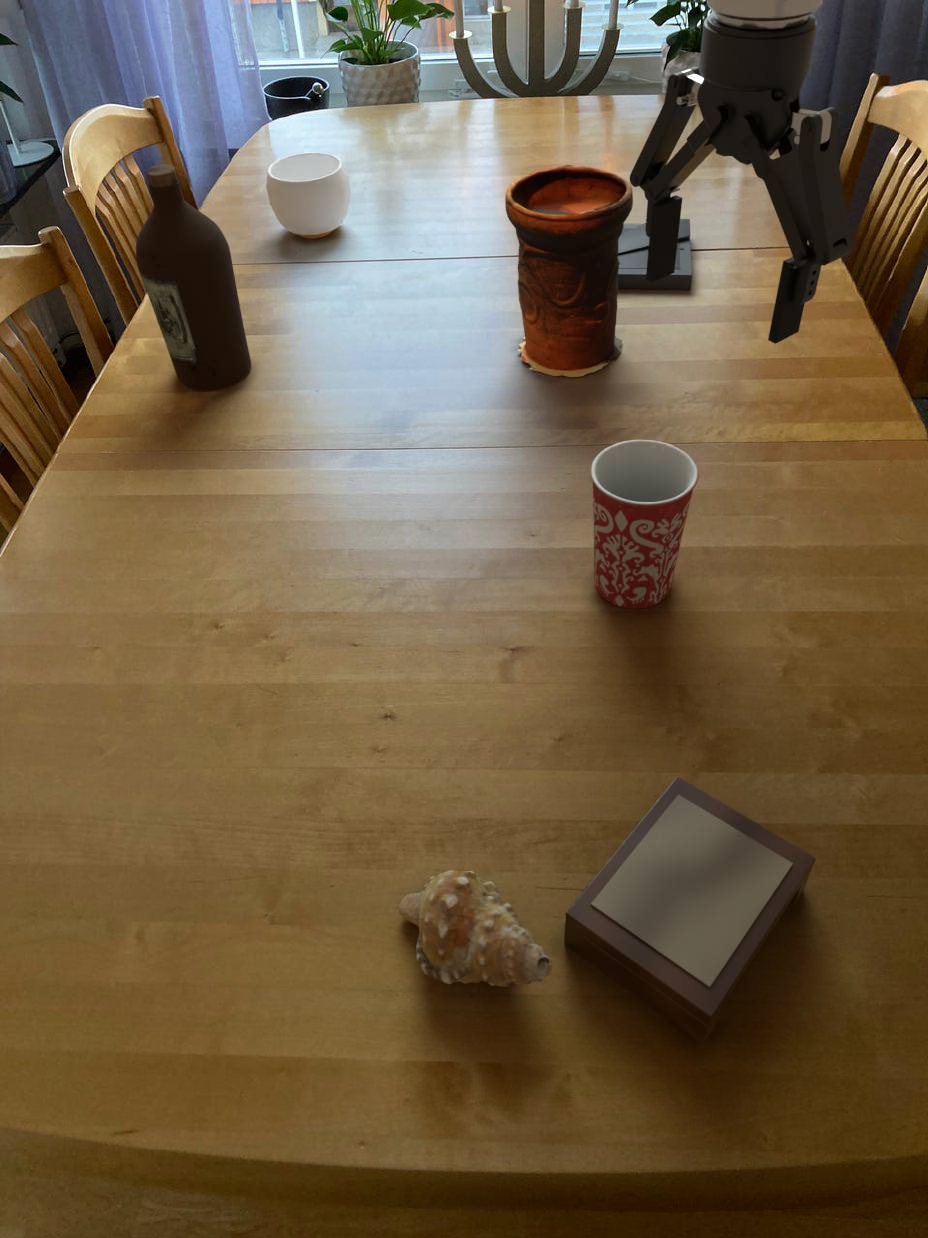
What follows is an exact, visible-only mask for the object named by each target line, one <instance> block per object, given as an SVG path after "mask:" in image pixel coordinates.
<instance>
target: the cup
mask: <svg viewBox="0 0 928 1238" xmlns="http://www.w3.org/2000/svg"><path fill="white" fill-rule="evenodd" d="M265 184H266V185H265V189H266V193H267V198H268V203H269V206H270V207H271V209H272V211H273V214H274V215H275V217H276V219H277V221H278V222H279V224H280V225H281V226H282V227H283V228H285V230H286V231H288V232H290V233H292V234H294V235H298V236H299V237H302V238H304V239H312V240H313V239H320V238H325V237H327V236H328V235H330V234H331V233H333V232H334V230H335V229H338V228H339V227H340V226H341V225H342V224H344V221H345V219H346V218H347V216H348V211H349V207H350V200H351V194H352V193H351V187H350V179H349V174H348V172H347V169H346V167H345V164H344V162H343V161H342V160H341V159H340V157H339V156H336V155H334V154H331V153H326V152H319V151H315V152H314V151H313V152H312V151H311V152H310V151H309V152H301V153H294V154H290V155H286V156H284V157H282V158H279V159H276V160H275V161H274V162H273V163H271V164H270V165H269V167H268V169H267V171H266V183H265Z"/></svg>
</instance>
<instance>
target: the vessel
mask: <svg viewBox="0 0 928 1238" xmlns="http://www.w3.org/2000/svg"><path fill="white" fill-rule="evenodd" d="M633 193H634V192H633V186H632V184H631V183H629V181H627V180H626V179H625V178H623V177H622V176H620V175H618V174H617V173H614V172H610V171H607V170H603V169H599V168H596V167H592V166H585V165H572V164H571V165H570V164H567V165H566V164H565V165H559V166H558V165H557V166H552V167H549V168H545V169H540V170H534V171H533V172H530V173H529V174H526V175H523V176H520V177H519V178H517V179H515V180H514V181H513V182H511V184H510V185H509V186H508V187H507V189H506V193H505V197H504V200H505V201H504V202H505V203H504V204H505V212H506V215H507V218H508V221H509V222H510V223H511V225H512V226H513V227H514V229H515V234H516V238H517V241H518V260H517V276H518V278H517V290H518V302H519V307H520V311H521V317H522V325H523V332H524V336H523V337H522V339H523V340H524V341H523V342H521V343H519V344H518V345H519V347H520V348H518V349H517V352H518V353H521V355H520V358H521V360H522V361H523V363H526V364H528V365H530V367H528V369H529V370H531V371H534V372H541V373H542V374H546V375H549V376H553V377H558V376H559V377H560V376H565V377H567V378H577V377H584V376H585V375H587V374H592V373H595V372H597V371H599V370H601V369H603V368H604V366H607V365H608V364H609V361H612V360H613V359H614V358H615V359H616V358H618V357H619V353H620V352H621V350H622V349H623V348H622V347H621V346H622V342H623V340H622V339H621V338H618V337H617V336H616V326H617V312H618V294H619V289H618V270H619V262H618V240H619V237H620V236H621V233H622V230H623V228H624V224H625V222H626V220H627V219H628V218H629V216H630V214H631V212H632V211H633V210H632V209H633V206H634V205H633V204H634V195H633Z"/></svg>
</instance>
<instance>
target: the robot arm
mask: <svg viewBox="0 0 928 1238" xmlns="http://www.w3.org/2000/svg"><path fill="white" fill-rule="evenodd" d="M823 2H824V0H706V5H707V6H708V8H709V9H710V10H711V12H710V13H709V14H708V16H707V17H706V18H704V21H703V28H702V35H701V43H700V44H701V45H700V53H699V54H700V55H699V62H698V64H699V65H698V66H692V67H689V68H687V69H684V70H680V71H678V72H676V73H672V74H670V76H669V77H668V79H667V84H666V91H665V97H664V102H663V105H662V107H661V109H660V111H659V113H658V115H657V117H656V120H655V121H654V124H653V126H652V128H651V130H650V132H649V134H648V136H647V139H646V141H645V142H644V145H643V146H642V149H641V151H640V153H639V155H638V157H637V159H636V162H635V164H634V165H633V168H632V170H631V172H630V174H629V182H630V183H629V184H630V185H631V187H634V188H637V187H639V188H640V189H641V190H642V191H643V192H644V193H643V195H644V197H645V199H646V200H647V205H646V216H645V217H646V219H645V223H646V227H645V230H646V236H648V237H650V238H649V249H648V260H647V272H646V280H648V281H650V282H655V281H657V280H659V279H661V278H663V277H666V276H668V275H670V274H672V273H674V271H675V261H676V252H677V243H678V234H679V225H680V219H681V214H682V208H683V207H682V206H683V197H681V196H679V195H677V194H675V195H673V196H672V194H673V193H676V192H679V191H680V190H681V188H680V187H681V185H682V184H683V183H684V182H685V181H687V179H688V178H689V177H690V176H691V175H692V174H693V172H694V171H695V170H697V169H698V167H700V165H701V164H703V162H705V160H706V159H707V158H708V156H710V154H712V153H713V152H714V150H715V154H716V155H718V156H721V157H732V158H734V159H735V160H736V161H737V162H738V163H741V164H743V165H747V166H749V165H751V166H752V168H753V171H754V173H755V176H756V177H758V179H761V180H762V181H763V182H764V185H765V188H766V190H767V193H768V195H769V199H770V201H771V203H772V206H773V208H774V211H775V213H776V216H777V219H778V221H779V224H780V226H781V229H782V231H783V234H784V237H785V240H786V242H787V244H788V247H789V250H790V252H791V257H788V258H787V259H784V260H783V261H782V266H781V270H780V277H779V282H778V286H777V293H776V296H775V301H774V307H773V311H772V317H771V322H770V328H769V333H768V338H767V341H769V342H771V343H773V344H775V345H777V344H778V343H781V342H782V341H784V340H786V339H788V338H789V337H792V336H793V335H796V334H797V333H799V331H800V326H801V322H802V318H803V317H802V316H803V314H804V313H803V312H804V308H805V303H807V302H809V301H812V300H813V298H814V297H815V295H816V292H817V289H818V288H817V287H818V283H819V278H820V274H821V270H822V267H823V266H827V265H828V264H831V263H833V262H835V261H838V260H839V259H841V258H844V257H846V256H847V255H849V254H850V253H851V251H852V249H853V248H852V247H853V245H852V239H851V232H850V228H849V227H850V226H849V219H848V214H847V208H846V202H845V195H844V189H843V183H842V176H841V169H840V163H839V156H838V150H837V136H838V128H839V119H840V113H839V110H838V109H837V108H836V107H833V106H830V107H828V108H825V109H824V108H823V109H822V110H820V111H819V110H811V109H805V108H803V107H802V102H801V91H802V88H803V85H804V83H805V81H806V79H807V77H808V75H809V72H810V69H811V63H812V57H813V53H814V47H815V42H816V36H817V31H818V26H819V22H818V19H817V18H816V16H815V14H814V12H815V11H817V10H819V8H821V7H822V4H823ZM697 104H698V108H699V110H700V113H701V117H702V120H701V122H700V123H698V125H697V126H696V127H695V128H694V130H692V132H691V133H689V135H688V136H687V138H686V142H685V143H684V144H683V145H682V146H681V148H680V149H678V151H677V152H676V153H675V154H674V155H673V157H672V154H673V152H674V150H675V148H676V147H677V144H678V142H679V140H680V138H681V137H682V134H683V133H684V130H685V129H686V127H687V125H688V124H689V121H690V119H691V117H692V115H693V113H694V111H695V109H696V107H697ZM793 132H795V134H796V135H795V136H794V135H793ZM776 151H778V154H779V156H778V157H776V158H771V157H772V155H773V154H775V153H776ZM671 157H672V158H671ZM670 158H671V159H670Z"/></svg>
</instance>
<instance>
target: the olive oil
mask: <svg viewBox="0 0 928 1238" xmlns="http://www.w3.org/2000/svg"><path fill="white" fill-rule="evenodd" d="M145 176H146V178H147V180H148V184H147V186H148V189H149V192H150V196H151V199H152V202H153V208H152V209H151V212H150V213H149V215H148V217H147V218H146V220H145V222H144V224H143V225H142V227H141V229H140V231H139V232H138V235H137V238H136V242H135V260H136V265H137V269H138V272H139V274H140V277H141V280H142V282H143V286H144V288H145V291H146V293H147V296H148V299H149V303H150V304H151V306H152V310H153V312H154V316H155V318H156V321H157V323H158V326H159V329H160V331H161V332H160V333H161V335H162V338H163V341H164V343H165V346H166V348H167V352H168V354H169V357H170V361H171V363H172V366H173V369H174V372H175V375H176V377H177V381H178V382H179V383H180V384H181V385H182V386H183V387H185V388H187V389H189V390H194V391H197V392H213V391H219V390H223V389H227V388H229V387H232V386H234V385H237V384H238V383H239V382H241V381H243V380H244V379H245V378H246V377H247V376H248V375H249V373H250V372H251V369H252V358H251V355H250V350H249V346H248V340H247V335H246V330H245V325H244V321H243V315H242V309H241V304H240V297H239V293H238V288H237V282H236V276H235V270H234V265H233V258H232V253H231V249H230V246H229V243H228V240H227V239H226V237H225V235H224V233H223V231H222V230H221V228H220V227H219V225H218V224H217V223H216V222H215V221H214V220H213V219H211V218H210V217H209V216H207V215H206V214H204V212H201V211H200V210H198V209H197V208H195V207H194V206H193V205H191V204H190V203H188V202H187V201H186V200H185V199H184V194H183V189H182V185H181V181H180V179H179V178H178V176H177V169H176V167H175V166H174V165H172V164H168V163H167V164H166V163H160V164H155V165H153V166H150V167H148V168H147V169H146V171H145Z"/></svg>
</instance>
